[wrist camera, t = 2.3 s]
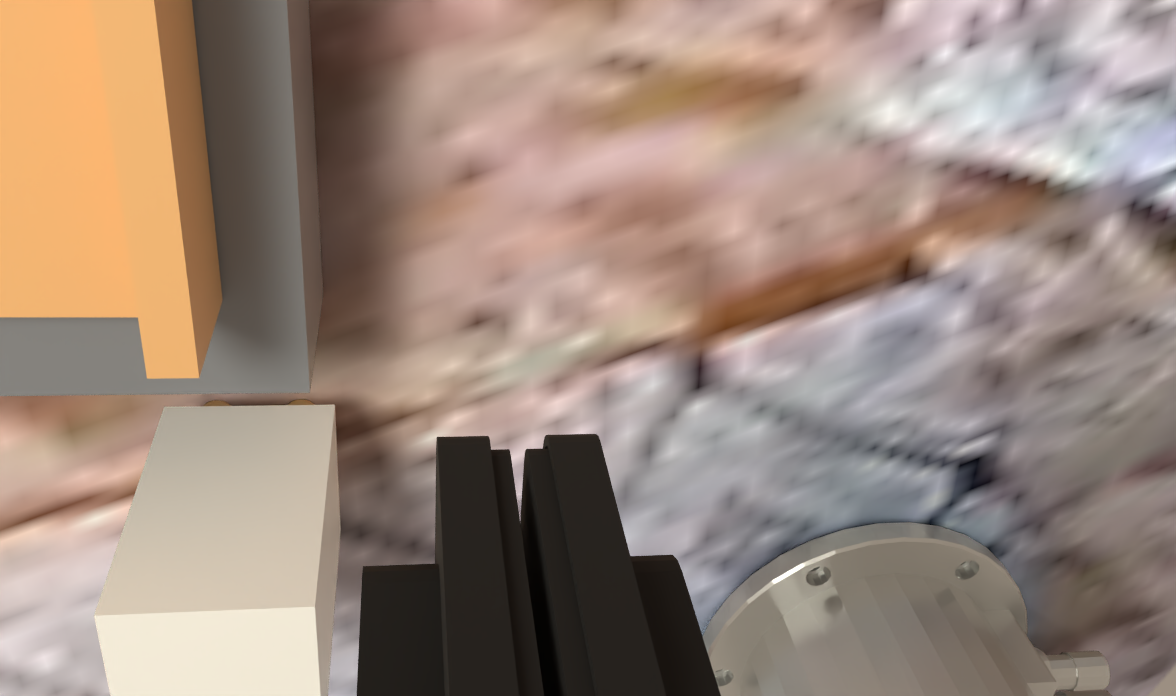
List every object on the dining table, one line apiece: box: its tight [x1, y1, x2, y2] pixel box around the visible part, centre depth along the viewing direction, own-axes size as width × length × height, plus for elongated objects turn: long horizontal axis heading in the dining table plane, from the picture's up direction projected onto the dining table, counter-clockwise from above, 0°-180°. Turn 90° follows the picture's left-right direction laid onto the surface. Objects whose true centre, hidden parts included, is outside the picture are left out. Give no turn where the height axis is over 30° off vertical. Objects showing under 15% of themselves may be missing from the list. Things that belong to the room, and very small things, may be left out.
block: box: [94, 399, 341, 696], centre depth 29 cm, size 5×5×10 cm
